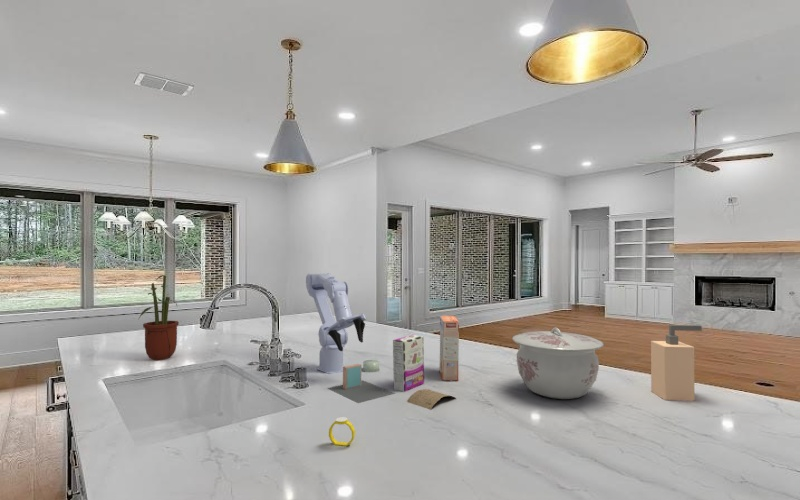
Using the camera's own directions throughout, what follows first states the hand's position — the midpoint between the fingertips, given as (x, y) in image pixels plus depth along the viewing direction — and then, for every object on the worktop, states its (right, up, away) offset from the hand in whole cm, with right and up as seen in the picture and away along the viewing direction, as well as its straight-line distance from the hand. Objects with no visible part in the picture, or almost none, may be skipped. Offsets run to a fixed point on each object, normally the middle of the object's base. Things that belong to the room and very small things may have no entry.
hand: (350, 345), depth 147 cm
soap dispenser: (+103, -13, -12) cm, 105 cm away
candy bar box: (+19, -13, -3) cm, 24 cm away
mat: (+4, -13, -8) cm, 16 cm away
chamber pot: (+66, -13, -8) cm, 68 cm away
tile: (+1, -13, -4) cm, 13 cm away
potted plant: (-86, -13, +36) cm, 94 cm away
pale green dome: (+6, -13, +17) cm, 22 cm away
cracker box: (+34, -13, +11) cm, 38 cm away
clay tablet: (+26, -14, -15) cm, 33 cm away
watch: (+3, -13, -46) cm, 48 cm away
